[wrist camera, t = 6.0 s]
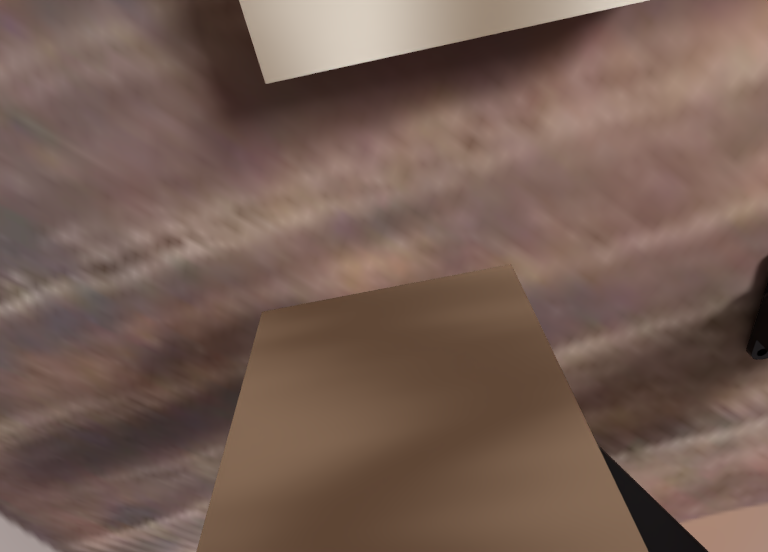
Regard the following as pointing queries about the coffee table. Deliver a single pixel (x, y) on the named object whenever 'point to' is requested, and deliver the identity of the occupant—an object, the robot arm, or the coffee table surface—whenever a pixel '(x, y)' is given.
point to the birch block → (384, 28)
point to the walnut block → (412, 431)
